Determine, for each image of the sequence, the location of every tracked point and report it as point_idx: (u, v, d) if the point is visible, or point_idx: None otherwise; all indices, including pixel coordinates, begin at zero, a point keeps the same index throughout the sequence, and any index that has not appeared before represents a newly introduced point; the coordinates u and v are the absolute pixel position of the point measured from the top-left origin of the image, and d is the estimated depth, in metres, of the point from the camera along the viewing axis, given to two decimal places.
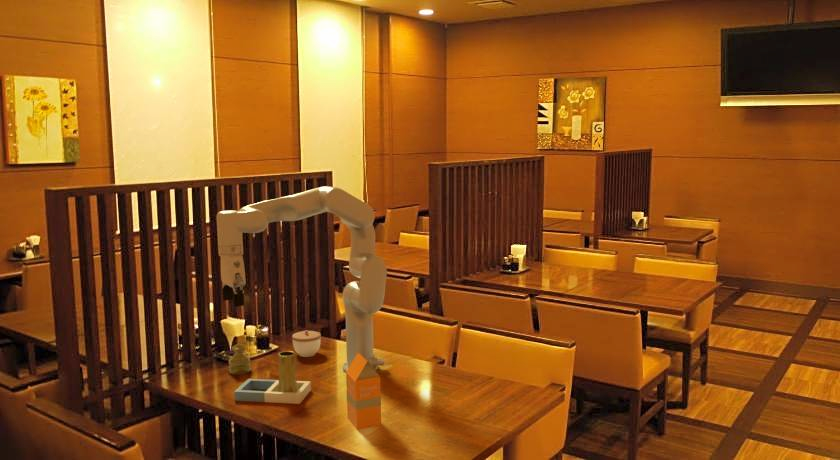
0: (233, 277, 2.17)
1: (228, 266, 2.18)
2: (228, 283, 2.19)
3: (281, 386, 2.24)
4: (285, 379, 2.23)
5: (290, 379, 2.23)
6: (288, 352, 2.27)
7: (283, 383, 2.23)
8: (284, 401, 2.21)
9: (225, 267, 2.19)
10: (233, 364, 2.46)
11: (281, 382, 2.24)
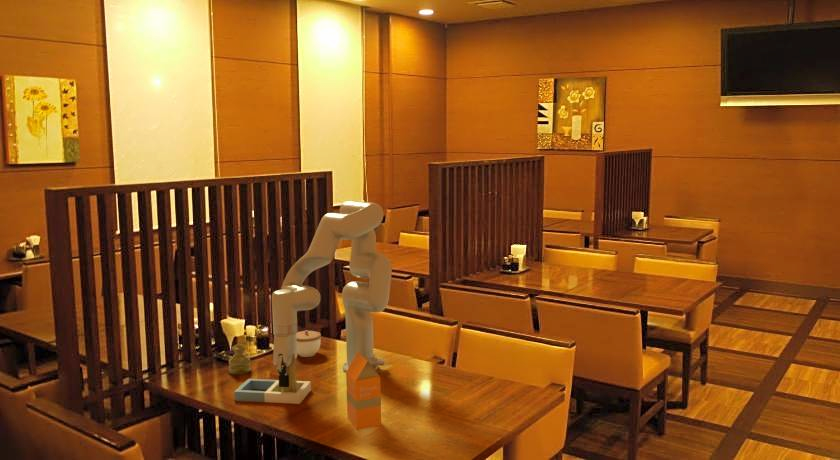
0: None
1: (296, 339, 2.27)
2: (295, 356, 2.27)
3: None
4: None
5: (290, 379, 2.23)
6: None
7: None
8: (284, 401, 2.21)
9: (294, 343, 2.25)
10: (233, 364, 2.46)
11: None
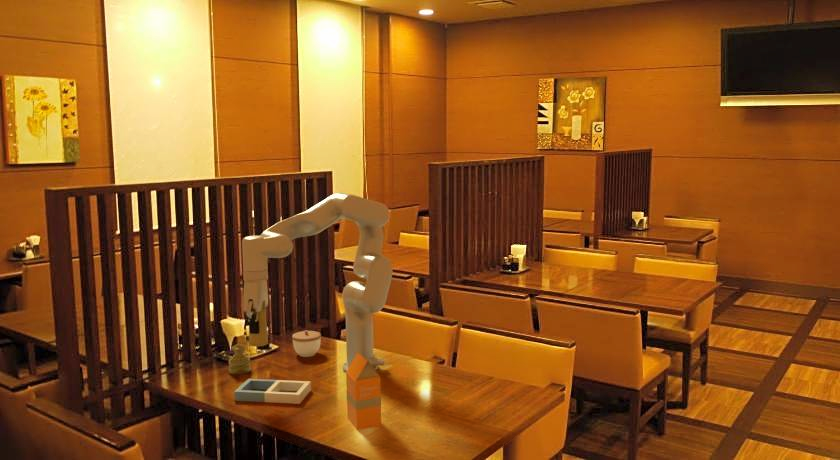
0: None
1: (266, 286, 2.26)
2: (266, 304, 2.25)
3: None
4: None
5: (260, 326, 2.22)
6: None
7: None
8: (284, 401, 2.21)
9: (265, 290, 2.24)
10: (233, 364, 2.46)
11: None
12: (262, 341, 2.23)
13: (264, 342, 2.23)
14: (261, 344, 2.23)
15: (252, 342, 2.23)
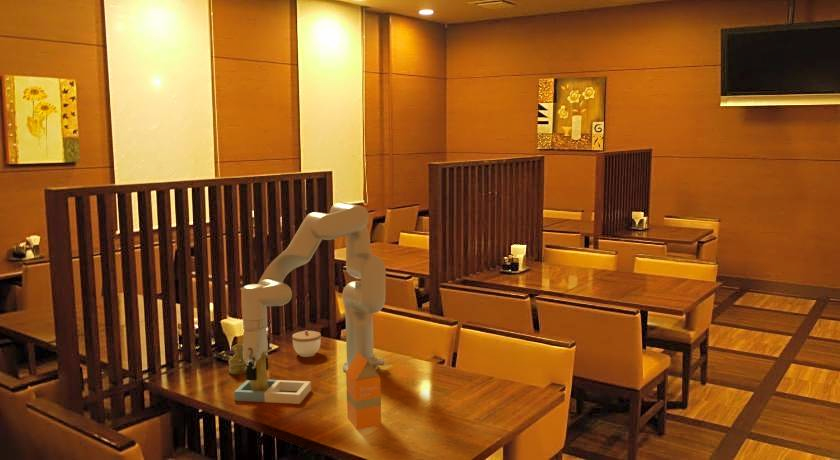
0: None
1: (266, 333, 2.28)
2: (265, 351, 2.28)
3: (252, 384, 2.25)
4: None
5: (260, 377, 2.25)
6: None
7: (254, 381, 2.25)
8: (284, 401, 2.21)
9: (264, 337, 2.26)
10: (233, 364, 2.46)
11: (252, 380, 2.25)
12: None
13: None
14: None
15: None
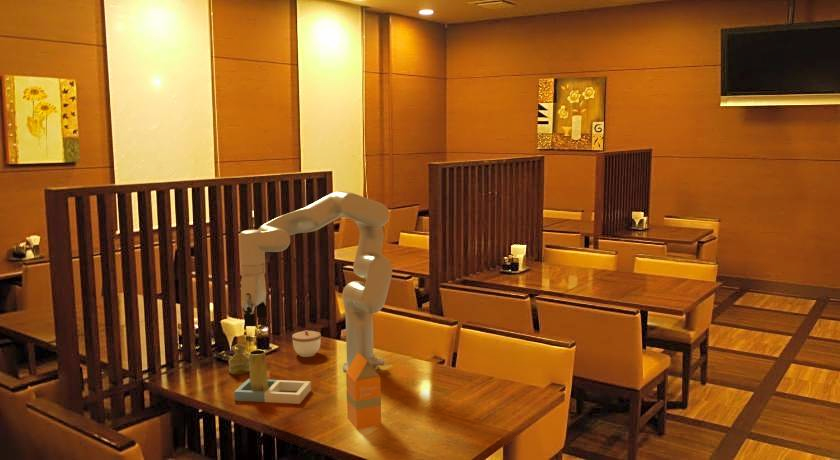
0: None
1: (264, 280, 2.26)
2: (264, 298, 2.26)
3: (252, 384, 2.25)
4: (256, 378, 2.25)
5: (261, 377, 2.25)
6: (259, 351, 2.28)
7: (254, 381, 2.25)
8: (284, 401, 2.21)
9: (263, 284, 2.24)
10: (233, 364, 2.46)
11: (252, 380, 2.25)
12: None
13: None
14: None
15: None
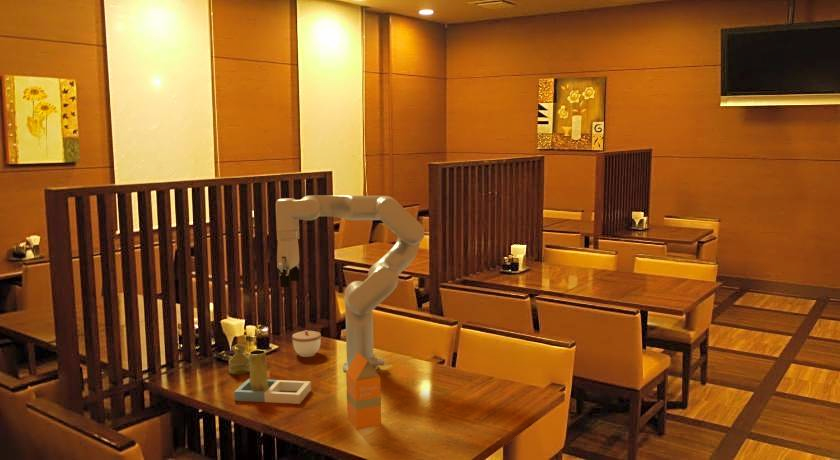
0: None
1: (298, 246, 2.43)
2: (297, 262, 2.43)
3: (252, 384, 2.25)
4: (256, 378, 2.25)
5: (261, 378, 2.25)
6: (259, 351, 2.28)
7: (254, 381, 2.25)
8: (284, 401, 2.21)
9: (296, 248, 2.41)
10: (233, 364, 2.46)
11: (252, 380, 2.25)
12: None
13: None
14: None
15: None
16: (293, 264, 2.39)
